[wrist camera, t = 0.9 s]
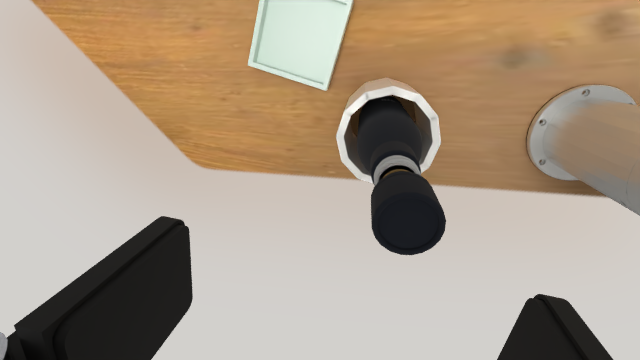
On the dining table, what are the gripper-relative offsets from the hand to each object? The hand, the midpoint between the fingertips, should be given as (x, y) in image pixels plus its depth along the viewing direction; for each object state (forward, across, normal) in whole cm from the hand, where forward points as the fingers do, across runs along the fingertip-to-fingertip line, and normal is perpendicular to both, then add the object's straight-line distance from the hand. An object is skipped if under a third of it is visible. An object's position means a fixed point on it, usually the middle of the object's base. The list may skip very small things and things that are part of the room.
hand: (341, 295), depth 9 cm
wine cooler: (+38, -2, +2) cm, 38 cm away
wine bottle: (+38, -2, +2) cm, 38 cm away
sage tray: (+38, +11, -7) cm, 40 cm away
